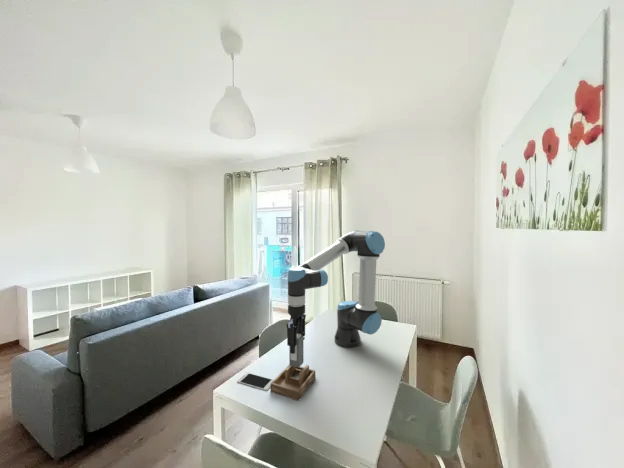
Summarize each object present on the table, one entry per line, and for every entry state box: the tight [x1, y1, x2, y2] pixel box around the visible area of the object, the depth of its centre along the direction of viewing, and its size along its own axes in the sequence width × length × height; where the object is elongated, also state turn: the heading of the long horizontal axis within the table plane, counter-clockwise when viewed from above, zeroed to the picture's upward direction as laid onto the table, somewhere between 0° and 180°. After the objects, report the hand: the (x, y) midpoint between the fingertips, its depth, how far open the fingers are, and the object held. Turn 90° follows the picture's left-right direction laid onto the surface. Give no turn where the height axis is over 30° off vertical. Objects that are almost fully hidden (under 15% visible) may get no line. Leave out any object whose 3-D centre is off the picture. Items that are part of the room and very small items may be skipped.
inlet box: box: [270, 363, 316, 401], centre depth 110 cm, size 16×13×6 cm
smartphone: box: [236, 372, 274, 392], centre depth 112 cm, size 7×15×1 cm, turn 67°
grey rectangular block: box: [288, 333, 304, 368], centre depth 112 cm, size 4×4×13 cm
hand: (296, 356), depth 112 cm, fingers closed on grey rectangular block, 4 cm apart
